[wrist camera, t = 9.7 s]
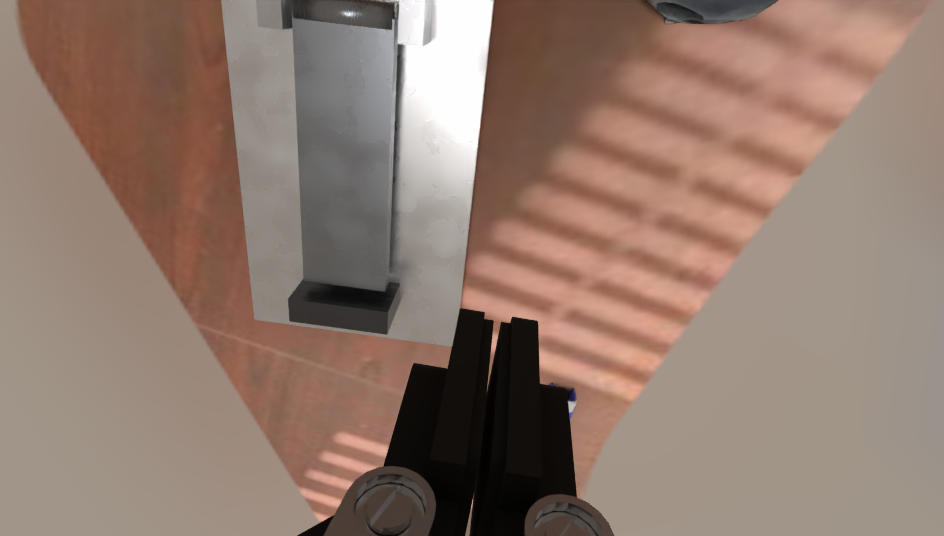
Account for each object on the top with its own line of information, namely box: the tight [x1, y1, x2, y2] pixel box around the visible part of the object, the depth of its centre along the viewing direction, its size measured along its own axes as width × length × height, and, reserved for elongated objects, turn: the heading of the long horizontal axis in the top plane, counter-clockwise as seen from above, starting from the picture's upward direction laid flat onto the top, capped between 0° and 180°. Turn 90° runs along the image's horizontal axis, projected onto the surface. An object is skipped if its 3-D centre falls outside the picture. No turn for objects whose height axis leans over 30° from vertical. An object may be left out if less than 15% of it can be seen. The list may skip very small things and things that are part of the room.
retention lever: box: [292, 0, 398, 292], centre depth 29 cm, size 16×5×1 cm, turn 174°
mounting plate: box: [221, 0, 495, 347], centre depth 31 cm, size 22×14×5 cm, turn 174°
